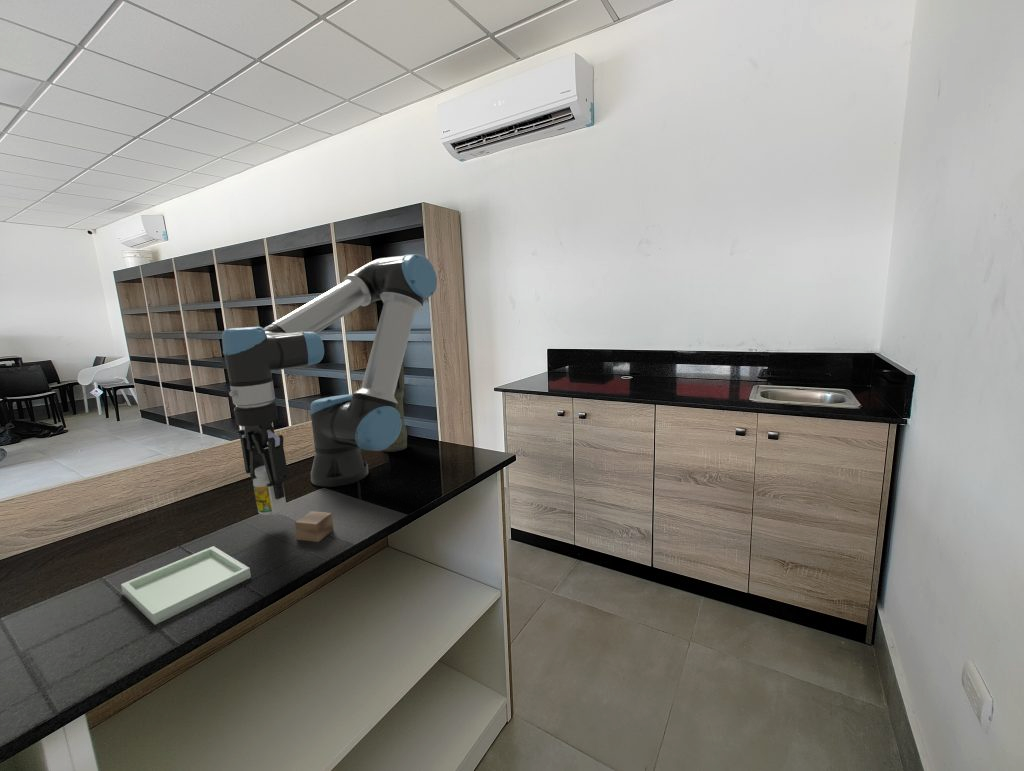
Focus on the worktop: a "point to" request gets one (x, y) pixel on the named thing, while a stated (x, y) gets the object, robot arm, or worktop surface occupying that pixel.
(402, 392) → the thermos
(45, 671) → the worktop surface
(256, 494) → the supplement bottle
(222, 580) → the tray
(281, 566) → the worktop surface
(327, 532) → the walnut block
